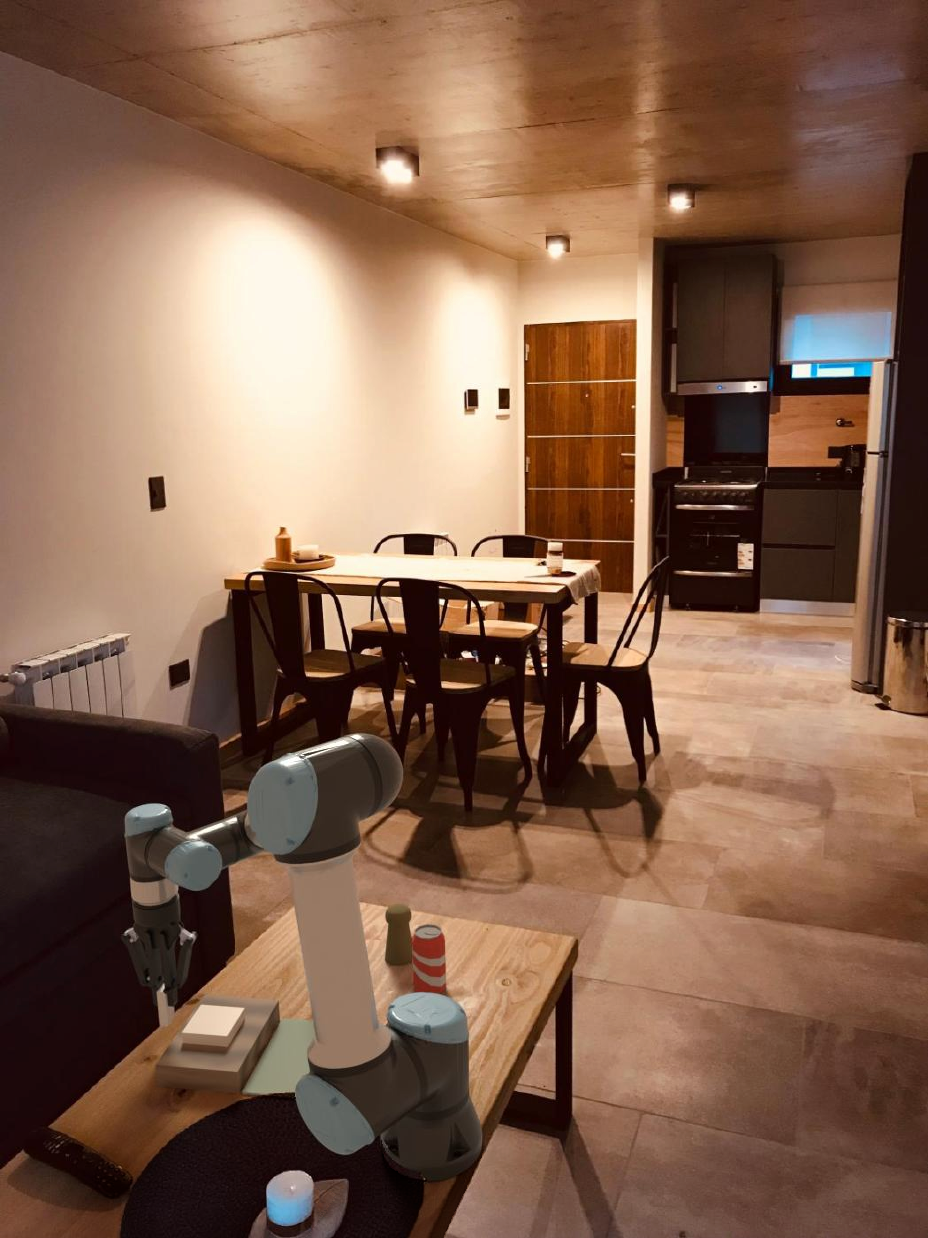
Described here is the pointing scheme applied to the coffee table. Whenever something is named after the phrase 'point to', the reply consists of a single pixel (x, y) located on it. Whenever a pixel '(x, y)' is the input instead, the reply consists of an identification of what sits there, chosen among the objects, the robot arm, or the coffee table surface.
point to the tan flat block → (220, 1050)
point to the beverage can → (429, 959)
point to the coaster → (213, 1025)
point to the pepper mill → (398, 935)
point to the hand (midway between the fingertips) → (167, 1021)
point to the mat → (283, 1059)
